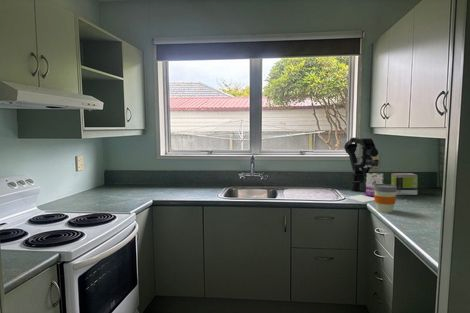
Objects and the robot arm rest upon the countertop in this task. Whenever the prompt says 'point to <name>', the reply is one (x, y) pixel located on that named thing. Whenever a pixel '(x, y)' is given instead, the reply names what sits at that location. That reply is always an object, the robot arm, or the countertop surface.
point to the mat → (361, 198)
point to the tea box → (405, 183)
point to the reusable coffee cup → (385, 197)
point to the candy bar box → (372, 182)
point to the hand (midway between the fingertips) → (365, 176)
